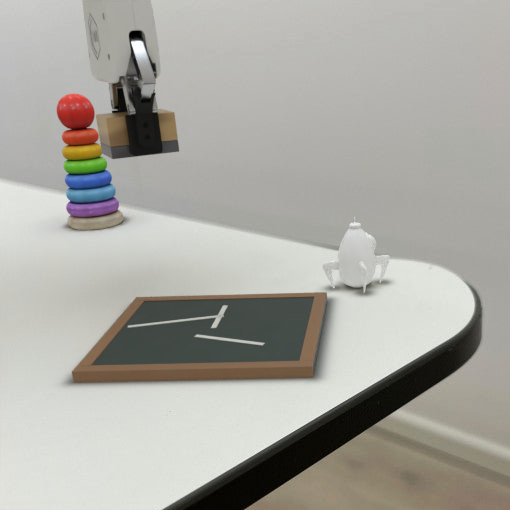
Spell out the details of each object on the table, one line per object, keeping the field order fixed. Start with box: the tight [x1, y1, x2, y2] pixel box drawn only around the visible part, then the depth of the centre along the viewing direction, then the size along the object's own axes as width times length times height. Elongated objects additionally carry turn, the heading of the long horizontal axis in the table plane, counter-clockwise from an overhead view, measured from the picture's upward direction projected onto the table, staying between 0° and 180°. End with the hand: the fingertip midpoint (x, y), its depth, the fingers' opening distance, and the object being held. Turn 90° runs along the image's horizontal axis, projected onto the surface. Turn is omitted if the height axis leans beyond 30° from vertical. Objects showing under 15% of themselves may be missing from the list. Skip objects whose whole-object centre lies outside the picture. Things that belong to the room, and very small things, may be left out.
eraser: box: [95, 108, 180, 160], centre depth 80 cm, size 7×4×4 cm, turn 120°
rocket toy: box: [322, 216, 391, 294], centre depth 82 cm, size 5×5×8 cm
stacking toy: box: [56, 93, 124, 231], centre depth 111 cm, size 8×8×19 cm
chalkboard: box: [71, 291, 328, 383], centre depth 72 cm, size 20×18×1 cm
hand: (139, 149), depth 80 cm, fingers closed on eraser, 4 cm apart
